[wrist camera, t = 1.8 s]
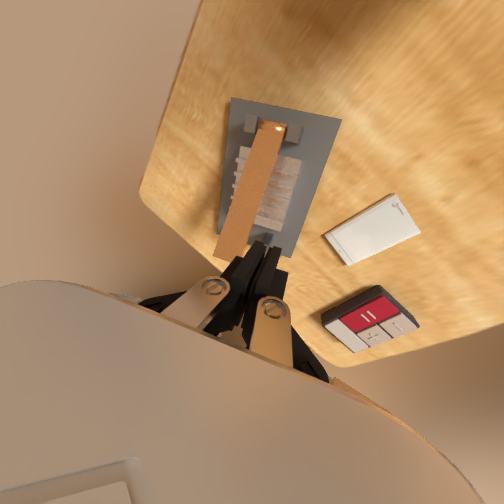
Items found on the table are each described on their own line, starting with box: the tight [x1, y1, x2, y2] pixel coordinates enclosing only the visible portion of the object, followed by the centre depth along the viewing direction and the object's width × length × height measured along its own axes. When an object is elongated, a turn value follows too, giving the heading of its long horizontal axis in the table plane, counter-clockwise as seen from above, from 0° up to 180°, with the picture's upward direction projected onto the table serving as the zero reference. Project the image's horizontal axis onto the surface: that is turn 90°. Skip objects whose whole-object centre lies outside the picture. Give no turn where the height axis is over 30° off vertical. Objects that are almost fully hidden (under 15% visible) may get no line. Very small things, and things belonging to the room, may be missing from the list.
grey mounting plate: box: [217, 97, 342, 258], centre depth 34 cm, size 24×17×2 cm
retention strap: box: [213, 119, 287, 262], centre depth 25 cm, size 20×4×2 cm
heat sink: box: [229, 113, 304, 255], centre depth 31 cm, size 20×10×5 cm, turn 169°
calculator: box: [321, 285, 420, 353], centre depth 41 cm, size 11×4×15 cm
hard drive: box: [325, 193, 421, 267], centre depth 34 cm, size 2×8×12 cm
